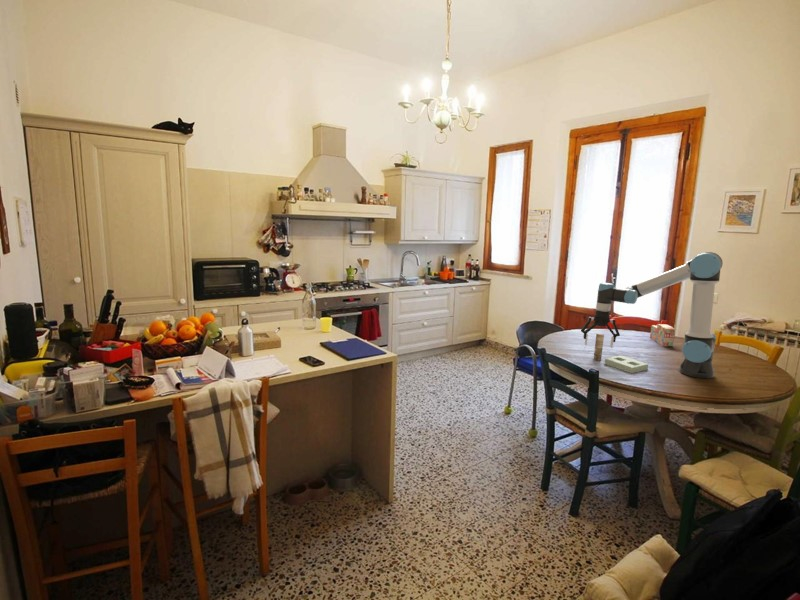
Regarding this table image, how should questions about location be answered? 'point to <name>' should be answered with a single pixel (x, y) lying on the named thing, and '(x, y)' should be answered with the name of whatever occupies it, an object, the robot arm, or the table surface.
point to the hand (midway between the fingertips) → (598, 345)
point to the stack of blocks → (663, 334)
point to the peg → (598, 346)
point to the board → (626, 364)
